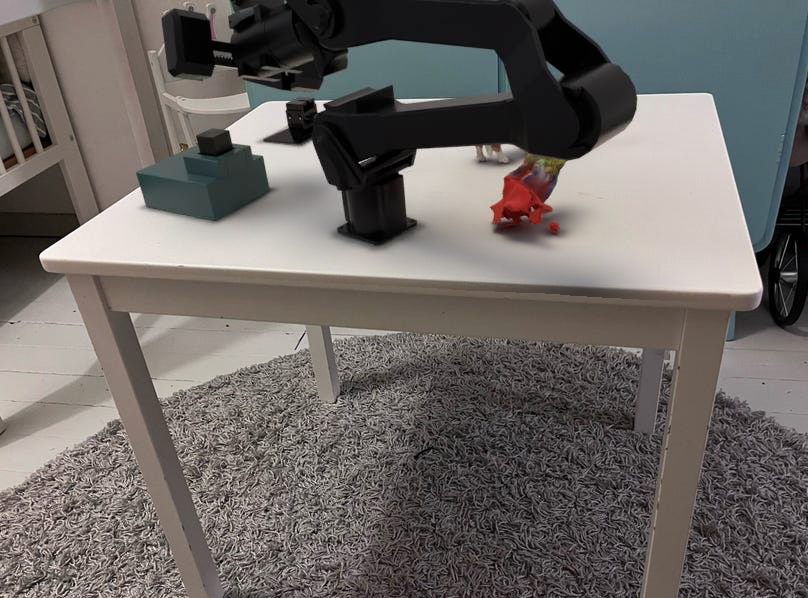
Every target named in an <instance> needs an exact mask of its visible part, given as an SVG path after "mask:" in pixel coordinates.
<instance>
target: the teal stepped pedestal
mask: <svg viewBox="0 0 808 598" xmlns="http://www.w3.org/2000/svg"><path fill="white" fill-rule="evenodd" d="M232 145H233V150H231V151H229V152H227V153H225V154H223V155H221V156H219V157H213V156H206V155H201V154H200V150H199V146H198V145H197V146H196V145H193V146H191V147H189V148H186V149H184V150H182V151H180V152H177V153H175V154H173V155H171V156H169V157H166V158H164V159H162V160H160V161H157V162H155V163H153V164H151V165H149V166H147V167H144V168H142V169H139V170H138V171H135V174H136V177H137V181H138V184H139V187H140V190H141V195H142V198H143V201H144V204H145V207H146V208H152V209H156V210H161V211H164V212H165V211H166V212H171V213H175V214H180V215H185V216H188V217H189V216H190V217H195V218H199V219H204V220H210V221H215V222H216V221H218V220H220V219H222V218H223V217H225V216H226V215H229V214H230V213H232V212H234V211H236V210H238V209H240V208H241V207H243V206H244V205H246V204H249V203H250V202H251V201H253V200H255V199H257V198H259V197H261V196H262V195H264V194H266V193H267V192H269V191H270V190H271V188H270V184H269V179H268V173H267V169H266V164H265V163H266V162H265V159H264V155H261V154H260V155H259V154H253V152H252V146H251V145H248V144H241V143H233V142H232Z"/></svg>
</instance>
